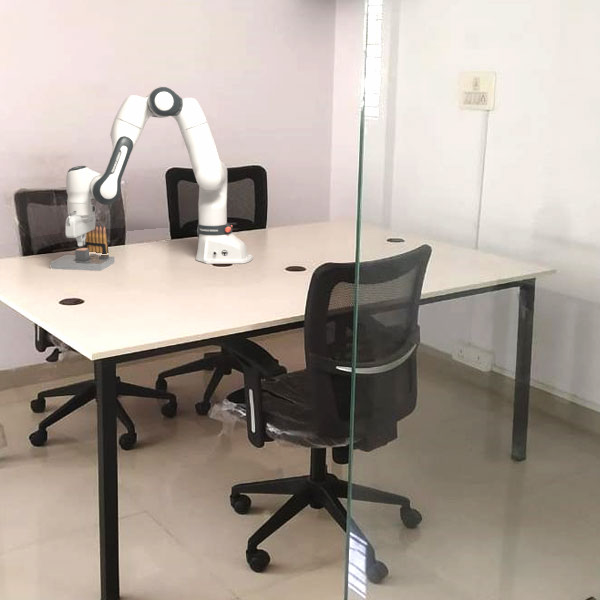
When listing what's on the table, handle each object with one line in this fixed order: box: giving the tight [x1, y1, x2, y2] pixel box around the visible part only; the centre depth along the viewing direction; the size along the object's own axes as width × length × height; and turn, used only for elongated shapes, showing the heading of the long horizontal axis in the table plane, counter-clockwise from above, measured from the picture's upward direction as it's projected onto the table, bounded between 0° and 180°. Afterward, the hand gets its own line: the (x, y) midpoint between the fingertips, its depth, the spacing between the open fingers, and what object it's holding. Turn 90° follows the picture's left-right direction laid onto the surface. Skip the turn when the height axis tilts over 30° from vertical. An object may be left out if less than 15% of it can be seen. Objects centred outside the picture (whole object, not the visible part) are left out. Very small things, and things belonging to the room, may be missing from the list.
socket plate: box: [49, 254, 115, 272], centre depth 347 cm, size 20×14×3 cm
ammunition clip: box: [83, 225, 110, 254], centre depth 367 cm, size 11×2×12 cm, turn 66°
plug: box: [74, 247, 91, 261], centre depth 347 cm, size 4×4×6 cm
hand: (81, 245), depth 346 cm, fingers closed
